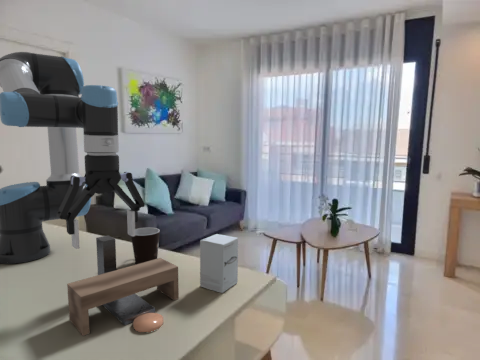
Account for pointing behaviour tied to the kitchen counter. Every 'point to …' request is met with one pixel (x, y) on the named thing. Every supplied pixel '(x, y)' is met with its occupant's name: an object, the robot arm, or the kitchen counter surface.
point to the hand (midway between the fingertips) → (105, 240)
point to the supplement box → (218, 262)
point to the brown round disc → (148, 322)
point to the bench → (119, 288)
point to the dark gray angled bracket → (126, 306)
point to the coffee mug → (145, 244)
